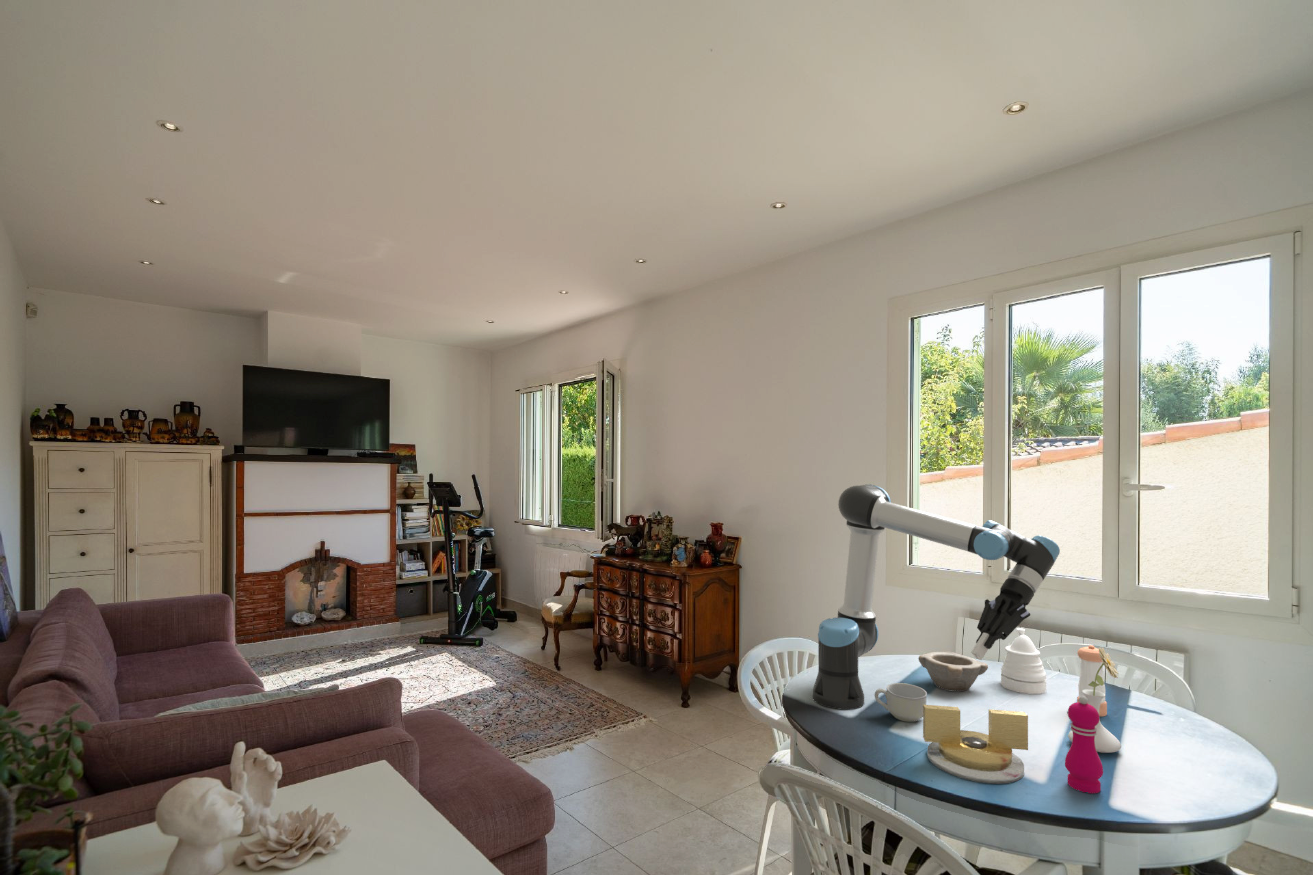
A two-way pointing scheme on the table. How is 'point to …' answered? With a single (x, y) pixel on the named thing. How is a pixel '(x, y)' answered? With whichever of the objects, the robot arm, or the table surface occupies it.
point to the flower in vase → (1104, 738)
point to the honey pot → (1023, 667)
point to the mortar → (952, 670)
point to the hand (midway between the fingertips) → (976, 656)
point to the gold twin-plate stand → (976, 737)
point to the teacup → (903, 701)
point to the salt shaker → (1091, 674)
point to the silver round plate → (975, 774)
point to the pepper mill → (1083, 748)
